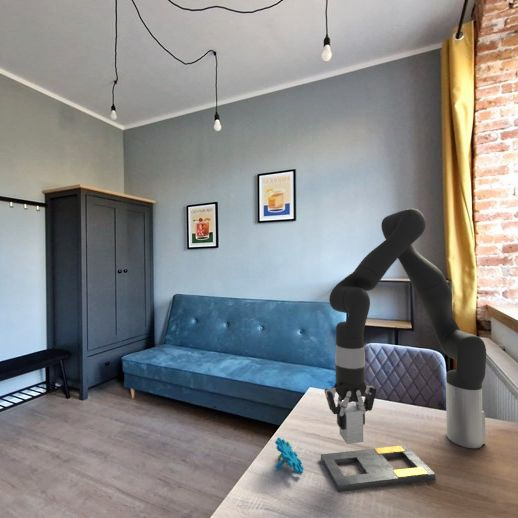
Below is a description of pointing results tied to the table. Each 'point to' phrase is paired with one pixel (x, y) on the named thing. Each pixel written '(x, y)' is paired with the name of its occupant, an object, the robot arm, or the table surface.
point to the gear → (288, 456)
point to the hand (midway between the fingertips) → (350, 426)
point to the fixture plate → (375, 468)
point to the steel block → (353, 424)
